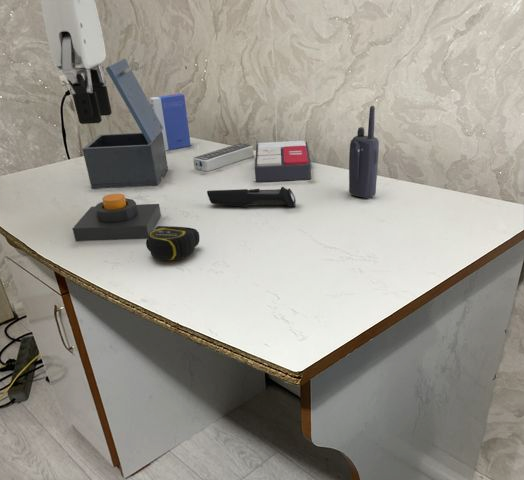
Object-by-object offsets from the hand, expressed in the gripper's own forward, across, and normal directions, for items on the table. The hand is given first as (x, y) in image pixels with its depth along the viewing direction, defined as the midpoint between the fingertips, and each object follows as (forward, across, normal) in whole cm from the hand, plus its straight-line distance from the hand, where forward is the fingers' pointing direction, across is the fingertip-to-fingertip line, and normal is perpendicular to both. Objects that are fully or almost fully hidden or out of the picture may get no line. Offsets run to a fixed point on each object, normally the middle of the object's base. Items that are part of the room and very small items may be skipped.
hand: (96, 117), depth 80 cm
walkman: (+18, -52, 0) cm, 55 cm away
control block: (+17, 0, 0) cm, 17 cm away
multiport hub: (+18, -37, +14) cm, 43 cm away
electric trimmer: (+18, -8, +22) cm, 29 cm away
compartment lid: (+3, -28, -1) cm, 28 cm away
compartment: (+17, -28, -5) cm, 33 cm away
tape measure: (+18, +11, +11) cm, 23 cm away
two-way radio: (+18, -11, +41) cm, 46 cm away
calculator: (+18, -29, +27) cm, 43 cm away
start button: (+14, 0, 0) cm, 14 cm away
